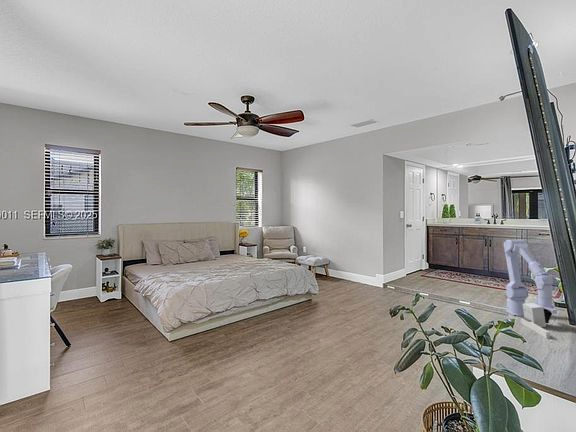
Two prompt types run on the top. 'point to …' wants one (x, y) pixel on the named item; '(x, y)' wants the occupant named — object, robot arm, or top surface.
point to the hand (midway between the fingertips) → (545, 322)
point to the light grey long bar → (535, 327)
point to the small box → (534, 314)
